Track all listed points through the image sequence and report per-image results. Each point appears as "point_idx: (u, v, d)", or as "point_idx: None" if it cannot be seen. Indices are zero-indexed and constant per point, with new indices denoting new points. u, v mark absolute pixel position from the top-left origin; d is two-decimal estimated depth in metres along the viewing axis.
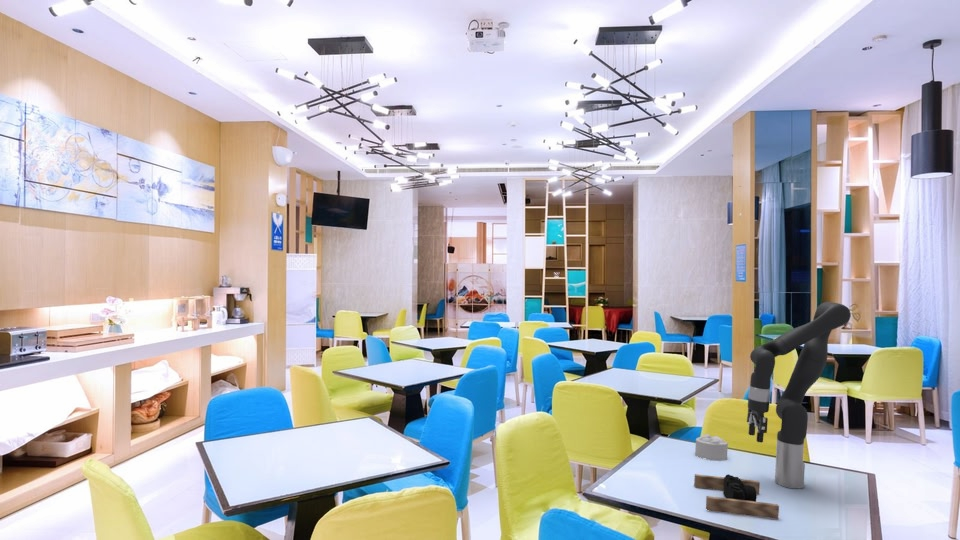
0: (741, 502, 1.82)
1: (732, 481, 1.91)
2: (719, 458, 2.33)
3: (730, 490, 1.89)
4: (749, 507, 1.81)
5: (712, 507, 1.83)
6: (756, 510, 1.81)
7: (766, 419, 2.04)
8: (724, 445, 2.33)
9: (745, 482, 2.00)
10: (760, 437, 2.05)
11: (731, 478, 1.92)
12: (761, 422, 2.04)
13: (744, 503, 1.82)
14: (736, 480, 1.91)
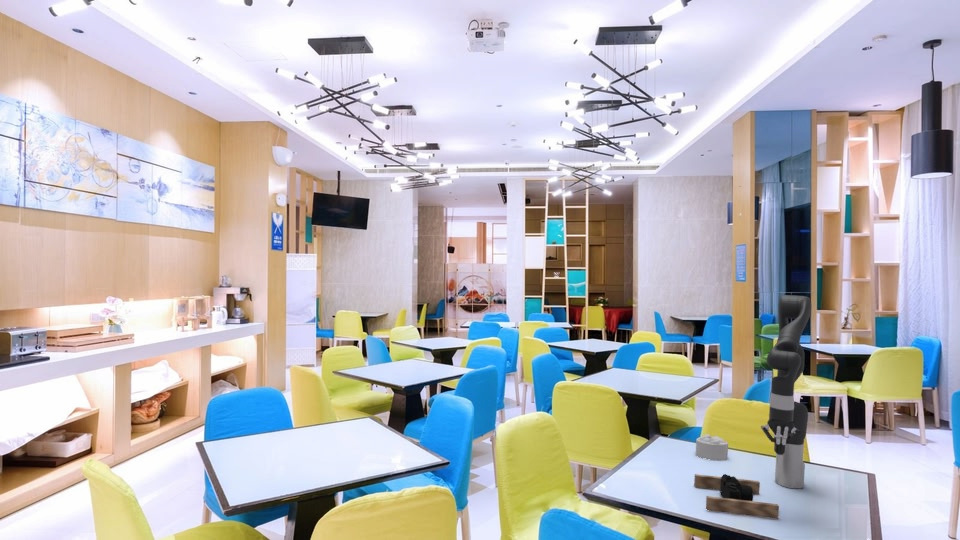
0: (741, 502, 1.82)
1: (729, 481, 1.91)
2: (719, 458, 2.32)
3: (727, 490, 1.89)
4: (749, 507, 1.81)
5: (712, 507, 1.83)
6: (756, 510, 1.81)
7: None
8: (724, 445, 2.33)
9: (745, 482, 2.00)
10: None
11: (728, 478, 1.92)
12: (796, 435, 1.87)
13: (744, 503, 1.82)
14: (733, 480, 1.91)
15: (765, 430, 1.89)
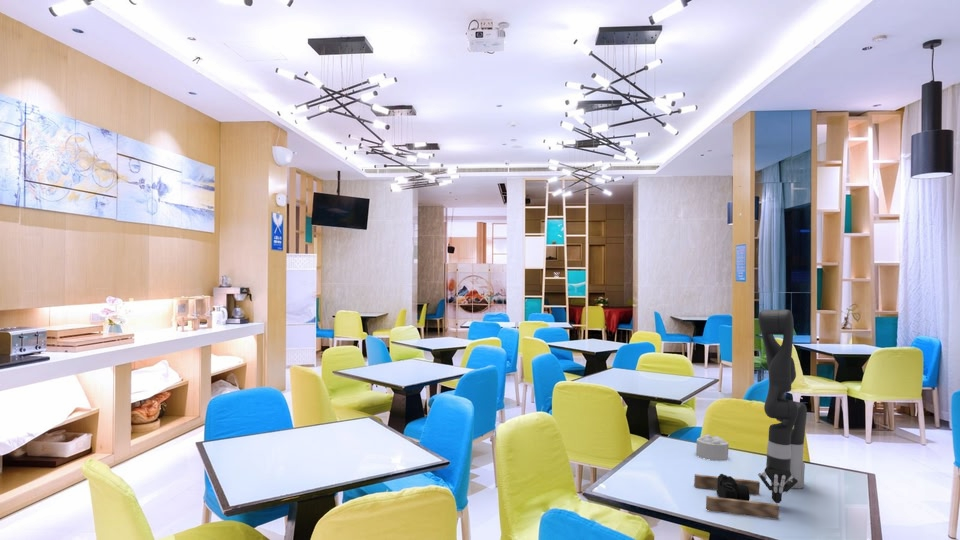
0: (741, 502, 1.82)
1: (725, 480, 1.91)
2: (720, 458, 2.32)
3: (723, 489, 1.89)
4: (749, 507, 1.81)
5: (712, 507, 1.83)
6: (756, 510, 1.81)
7: None
8: (725, 445, 2.33)
9: (745, 482, 2.00)
10: None
11: (724, 477, 1.92)
12: None
13: (744, 503, 1.82)
14: (729, 479, 1.91)
15: (762, 478, 1.89)
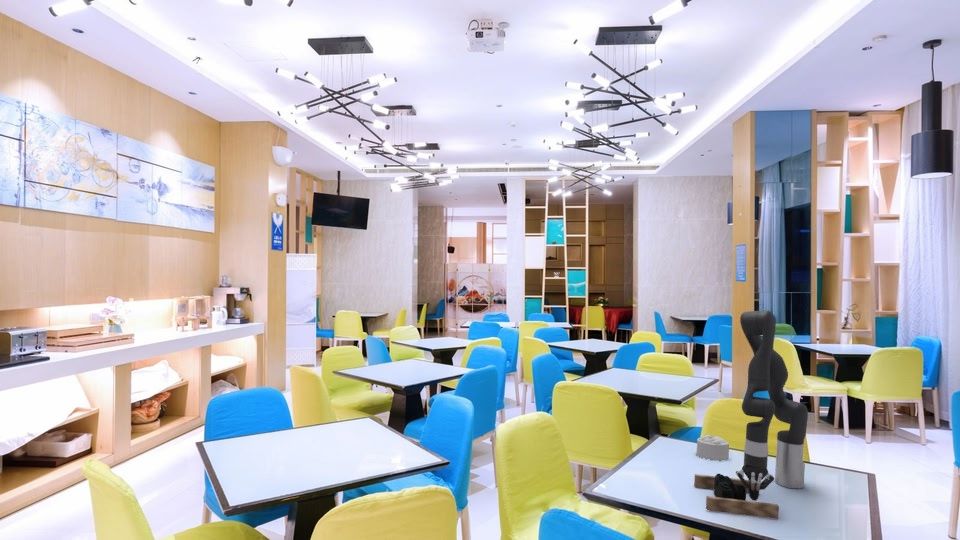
0: (741, 502, 1.82)
1: (722, 480, 1.92)
2: (720, 458, 2.32)
3: (719, 489, 1.89)
4: (749, 507, 1.81)
5: (712, 507, 1.83)
6: (756, 510, 1.81)
7: None
8: (725, 445, 2.33)
9: None
10: None
11: (721, 477, 1.92)
12: (770, 482, 1.88)
13: (744, 503, 1.82)
14: (726, 479, 1.92)
15: (740, 476, 1.90)
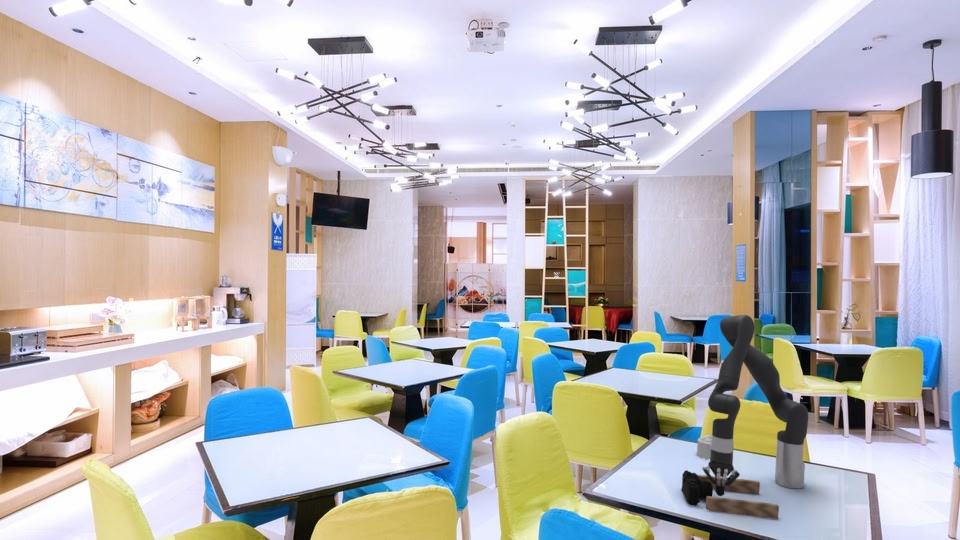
0: (741, 502, 1.82)
1: (689, 477, 1.93)
2: None
3: (686, 486, 1.91)
4: (749, 507, 1.81)
5: (712, 507, 1.83)
6: (756, 510, 1.81)
7: None
8: None
9: (745, 482, 2.00)
10: None
11: (688, 474, 1.94)
12: None
13: (744, 503, 1.82)
14: (693, 476, 1.93)
15: (706, 472, 1.92)
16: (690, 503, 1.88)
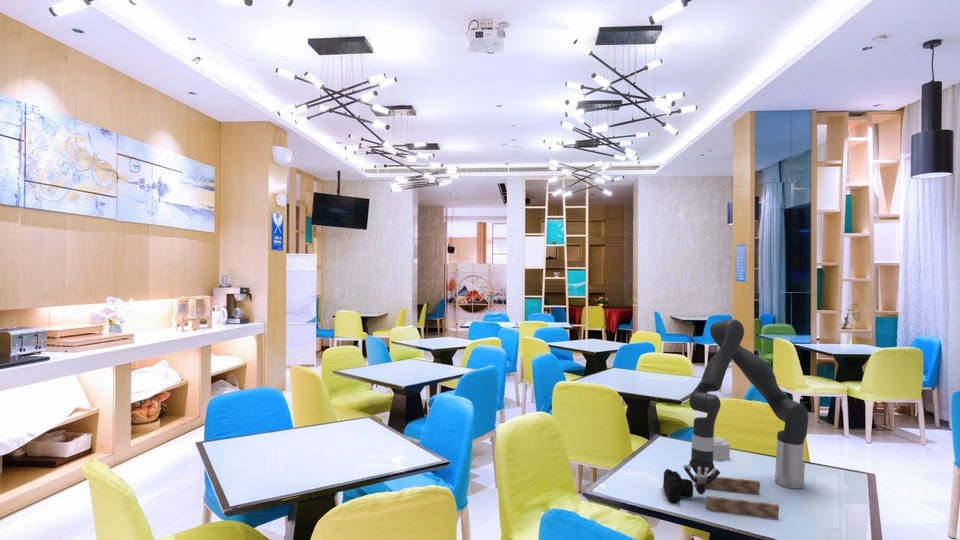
0: (741, 502, 1.82)
1: (670, 475, 1.94)
2: (721, 459, 2.32)
3: (667, 484, 1.92)
4: (749, 507, 1.81)
5: (712, 507, 1.83)
6: (756, 510, 1.81)
7: None
8: (726, 445, 2.32)
9: (745, 482, 2.00)
10: None
11: (669, 472, 1.95)
12: (716, 476, 1.92)
13: (744, 503, 1.82)
14: (674, 474, 1.94)
15: (687, 470, 1.94)
16: (671, 501, 1.88)
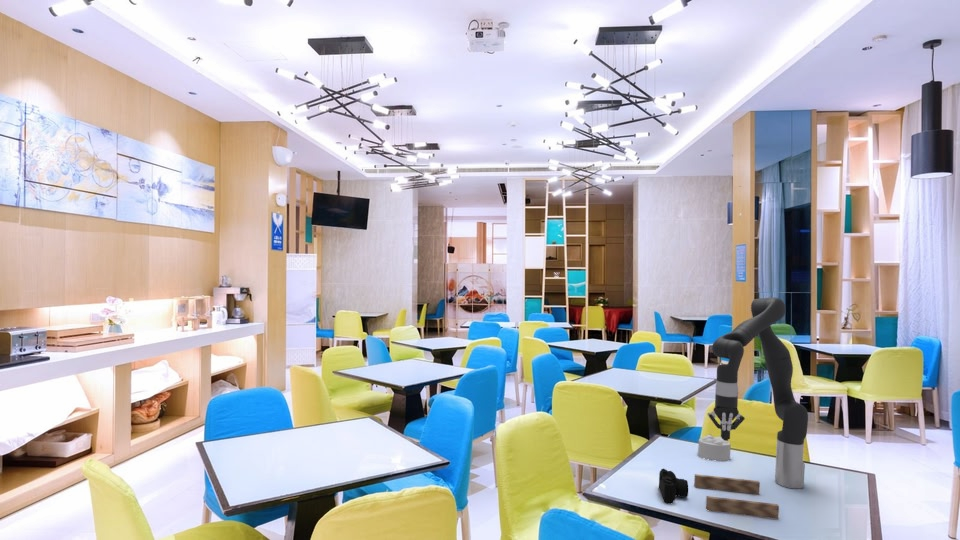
0: (741, 502, 1.82)
1: (665, 475, 1.94)
2: (722, 459, 2.32)
3: (662, 484, 1.92)
4: (749, 507, 1.81)
5: (712, 507, 1.83)
6: (756, 510, 1.81)
7: None
8: (727, 446, 2.32)
9: (745, 482, 2.00)
10: None
11: (664, 472, 1.95)
12: None
13: (744, 503, 1.82)
14: (669, 474, 1.94)
15: (711, 417, 1.94)
16: (666, 501, 1.89)
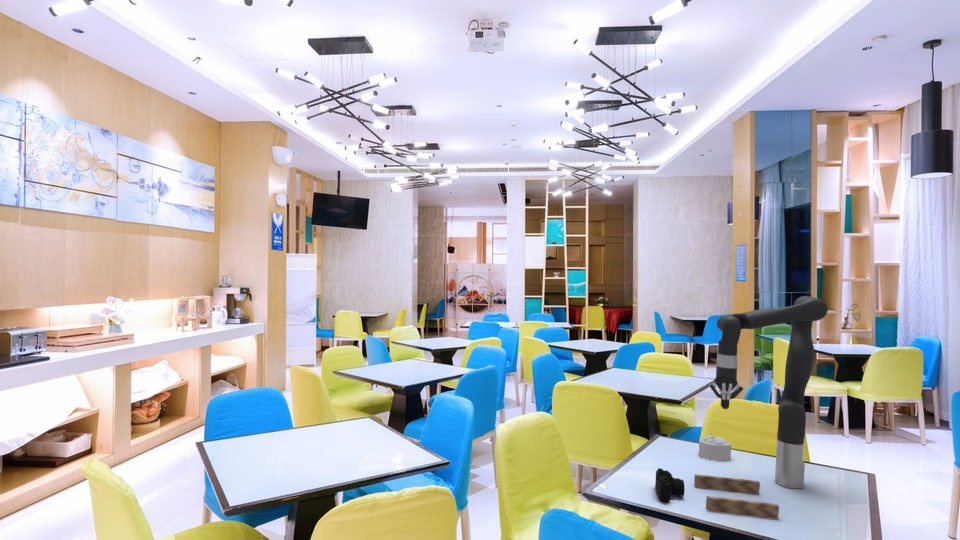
0: (741, 502, 1.82)
1: (661, 475, 1.95)
2: (723, 459, 2.32)
3: (658, 483, 1.92)
4: (749, 507, 1.81)
5: (712, 507, 1.83)
6: (756, 510, 1.81)
7: None
8: (728, 446, 2.32)
9: (745, 482, 2.00)
10: None
11: (660, 472, 1.95)
12: (739, 391, 2.08)
13: (744, 503, 1.82)
14: (665, 474, 1.94)
15: (712, 387, 2.10)
16: (662, 500, 1.89)
